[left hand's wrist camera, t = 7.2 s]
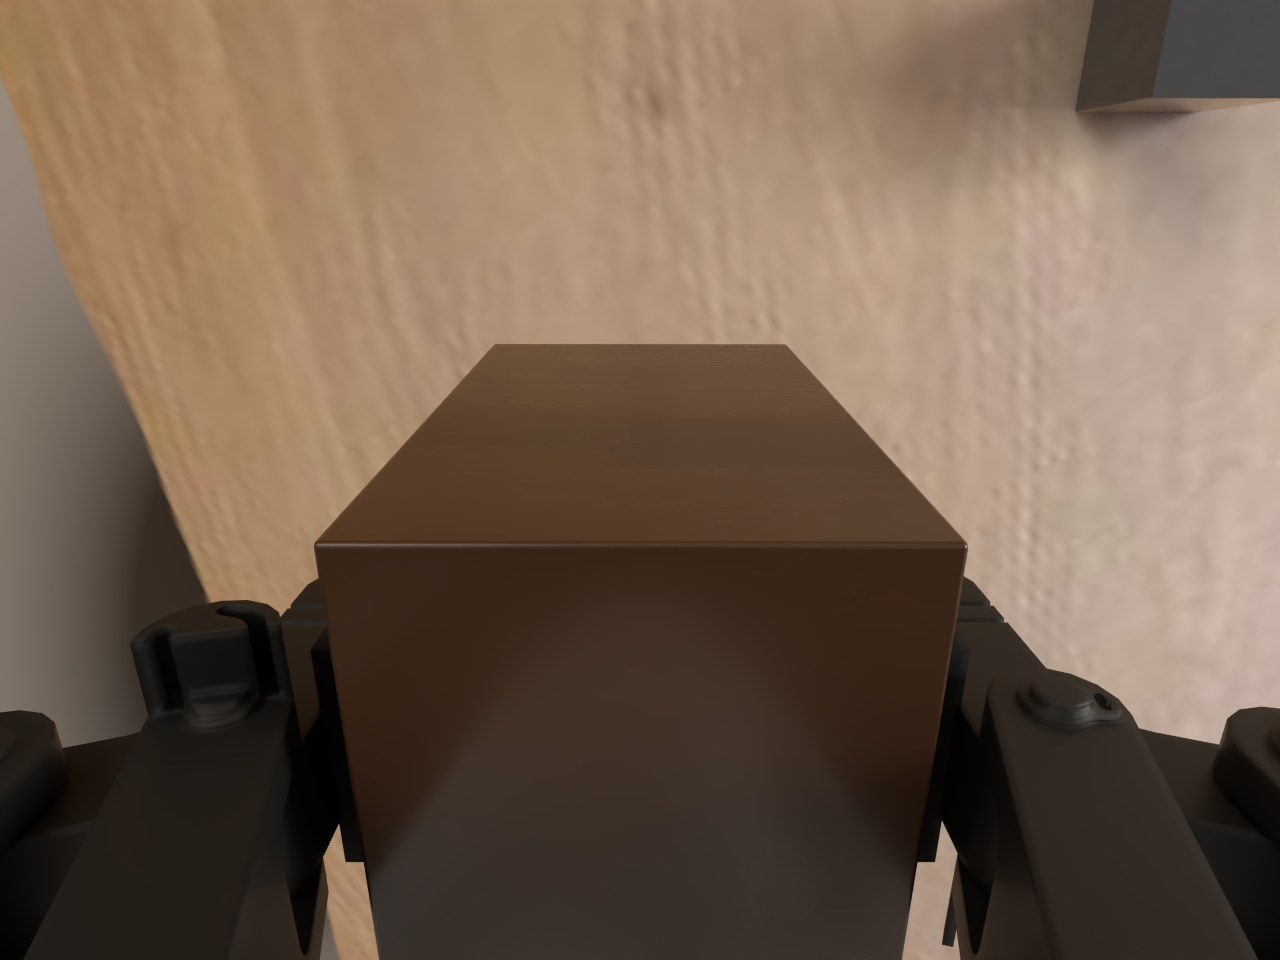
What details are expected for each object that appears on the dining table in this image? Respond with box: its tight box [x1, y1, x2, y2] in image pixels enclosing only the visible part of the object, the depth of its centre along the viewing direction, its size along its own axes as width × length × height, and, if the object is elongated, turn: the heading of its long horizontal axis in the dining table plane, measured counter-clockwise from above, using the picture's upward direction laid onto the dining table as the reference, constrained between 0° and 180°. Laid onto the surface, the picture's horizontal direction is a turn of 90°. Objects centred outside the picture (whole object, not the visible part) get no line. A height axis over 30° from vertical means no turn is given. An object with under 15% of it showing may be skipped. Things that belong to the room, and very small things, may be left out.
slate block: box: [1076, 0, 1280, 112], centre depth 23 cm, size 4×4×4 cm
